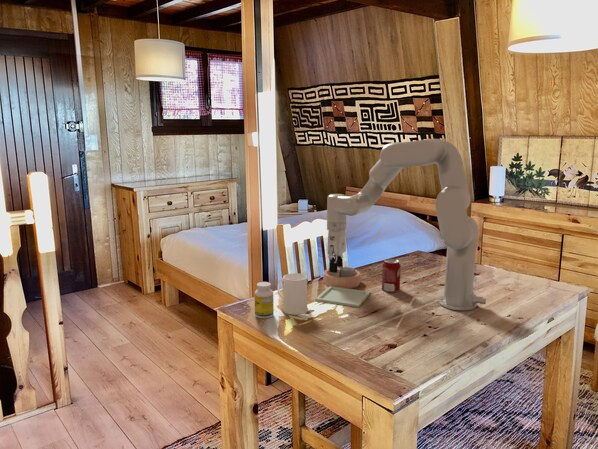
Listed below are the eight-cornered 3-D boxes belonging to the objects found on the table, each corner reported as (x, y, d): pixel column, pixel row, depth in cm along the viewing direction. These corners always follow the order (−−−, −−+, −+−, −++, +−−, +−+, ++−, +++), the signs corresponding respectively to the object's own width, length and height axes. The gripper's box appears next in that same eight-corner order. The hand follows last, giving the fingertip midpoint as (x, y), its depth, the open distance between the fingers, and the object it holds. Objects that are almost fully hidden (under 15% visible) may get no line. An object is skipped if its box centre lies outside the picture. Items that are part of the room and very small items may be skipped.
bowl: (364, 280, 201) (364, 269, 200) (353, 291, 188) (353, 280, 187) (330, 276, 207) (330, 265, 206) (318, 286, 194) (318, 275, 193)
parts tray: (370, 294, 185) (370, 291, 184) (358, 308, 171) (358, 305, 171) (329, 289, 191) (329, 286, 191) (315, 302, 177) (315, 298, 177)
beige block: (342, 280, 200) (343, 266, 199) (339, 283, 196) (339, 269, 194) (332, 278, 201) (332, 265, 200) (328, 281, 197) (328, 268, 196)
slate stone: (355, 281, 198) (355, 268, 196) (351, 284, 194) (351, 271, 193) (344, 280, 200) (344, 266, 198) (340, 283, 196) (340, 269, 194)
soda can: (394, 295, 184) (395, 264, 182) (378, 291, 188) (379, 261, 186) (402, 290, 190) (403, 260, 187) (386, 286, 194) (387, 257, 191)
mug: (270, 308, 171) (270, 275, 169) (287, 301, 178) (287, 269, 175) (296, 317, 164) (296, 282, 161) (312, 309, 170) (313, 276, 168)
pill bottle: (253, 313, 167) (252, 281, 165) (271, 311, 169) (270, 280, 166) (256, 320, 161) (256, 287, 159) (275, 318, 163) (275, 285, 161)
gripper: (338, 230, 185) (337, 277, 188) (352, 222, 200) (351, 265, 204) (319, 229, 188) (319, 275, 191) (334, 221, 203) (334, 263, 207)
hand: (335, 269), depth 198 cm, fingers open, 5 cm apart
